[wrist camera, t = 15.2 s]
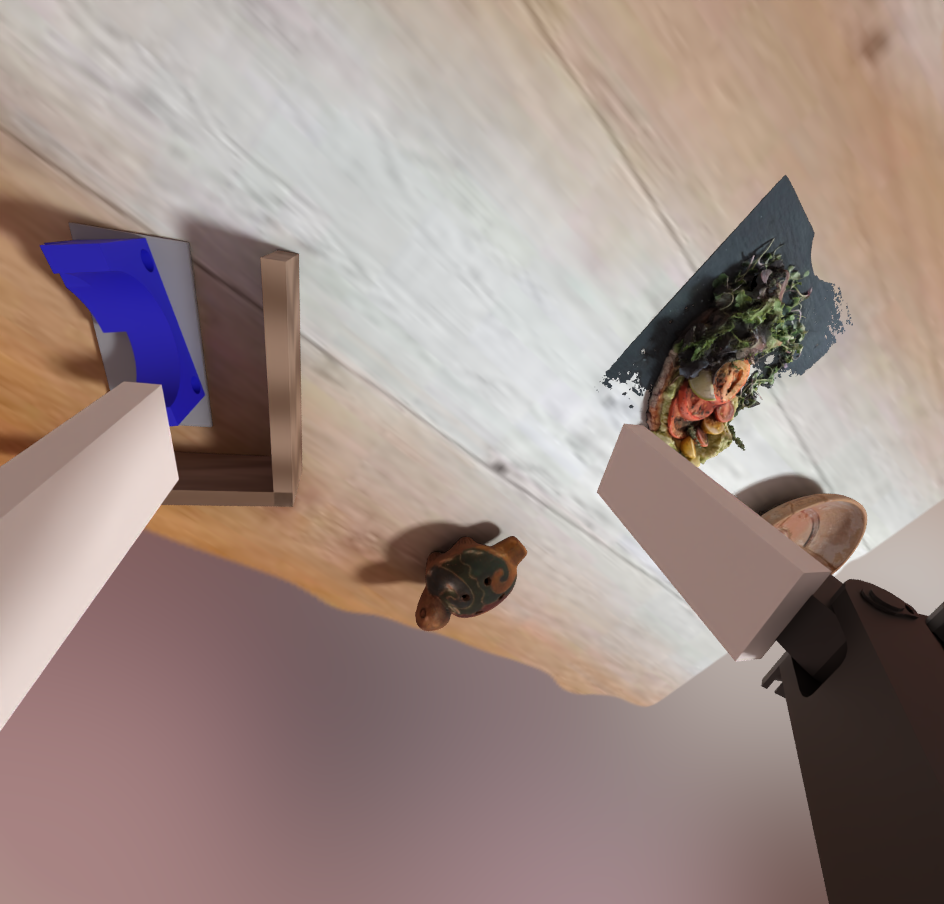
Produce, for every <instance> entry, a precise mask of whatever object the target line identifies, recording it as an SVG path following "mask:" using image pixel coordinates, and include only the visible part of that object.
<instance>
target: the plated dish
mask: <svg viewBox="0 0 944 904" xmlns="http://www.w3.org/2000/svg"><path fill="white" fill-rule="evenodd" d="M813 237H814V230H813V228H812V226H811V224H810V222H809V221H808V218H807V216H806V214H805V212H804V209H803V207H802V205H801V203H800V201H799V199H798V197H797V194H796V193H795V190H794V188H793V186H792V185H791V182H790V181H789V179H788V177H787V176H786V175H785V176H784V177H783V178H782V179H781V180H780V181H779V182H778V183H777V184H776V185H775V186H774V187H773V188H772V190H771V191H770V192H769V193H768V194H767V195H766V196H765V197H764V198H763V199H762V200H761V201H760V203H759V204H758V205H757V206H756V207H755V208H754V209H753V210H752V211H751V212H750V214H749V215H748V216H747V217H746V218H745V219H744V220H743V221H742V222H741V223H740V224H739V226H738V227H737V228H736V229H735V230H734V231H733V232H732V233H731V234H730V235H729V237H728V238H727V239H726V240H725V241H724V242H723V243H722V244H721V245H720V247H719V248H718V249H717V250H716V251H715V252H714V253H713V254H712V255H711V256H710V258H709V259H708V260H707V261H706V262H705V263H704V264H703V265H702V266H701V267H700V268H699V269H698V271H696V273H695V274H694V275H693V276H692V277H691V278H690V279H689V280H688V282H687V283H686V284H685V285H684V286H683V287H682V288H681V289H680V290H679V291H678V292H677V293H676V295H675V296H674V297H673V298H672V299H671V300H670V301H669V302H668V303H667V305H666V306H665V307H664V308H663V309H662V310H661V311H660V312H659V314H658V315H657V316H656V317H655V318H654V319H653V320H652V321H651V322H650V323H649V325H648V326H647V327H646V328H645V329H644V330H643V331H642V333H641V334H640V335H639V336H638V337H637V338H636V339H635V340H634V341H633V342H632V343H631V344H630V346H629V347H628V348H627V349H626V350H625V351H624V353H623V354H622V355H621V356H620V358H618V359H617V361H616V362H614V364H613V365H612V367H611V368H610V370H608V371H606V376H607V378H609V379H607V378H606V379H605V378H604V379H605V382H602V384H604V385H607V387H608V388H611V387H612V385H611V384H610V383H609V382H608V381H609V380H612V378H614V380H616V379H617V377H618V378H619V380H620V383H626V380H630V379H631V377H632V376H633V375H634V373H636V374H638V373H637V372H639V374H638V376H637V375H636V376H637V377H636V378H637V379H638V378H639V379H640V380H639V382H637V379H635V380H634V381H632V382H634V383H636V384H638V383H640V384H639V385H638V386H639V388H638V389H639V390H640V393H639V394H638V391H637V390H636V389H634V388H636V387H634V388H633V387H632V391H633V392H635V393H636V394H637V395H639V396H641V393H642V390H641V389H640V386H641V387H642V388H643V387H645V388H644V389H646V390H649V389H650V390H649V392H651V393H650V397H649V400H648V402H649V406H648V407H649V408H648V410H647V412H646V416H647V422H646V423H648V425H649V429H650V431H651V432H652V433H654V434H655V435H656V436H657V437H659V438H660V439H661V440H663V441H664V442H665V443H666V444H668V445H669V446H670V447H672V448H673V449H674V450H675V451H677V452H678V453H679V454H681V455H682V456H683V457H685V458H686V459H687V460H688V461H690V462H691V463H692V464H694V465H695V466H696V467H699V466H700V463H702V464H704V463H705V461H706V460H707V459H709V458H712V457H715V456H717V455H718V453H720V452H722V451H723V450H724V449H726V448H727V447H729V446H730V444H731V443H732V440H733V441H734V440H735V443H736V444H737V445H738V447H740V448H742V449H743V450H744V451H745V449H744V448H745V447H744V444H743V443H742V441H741V440H740V438H738V437H737V438H736V437H735V432H734V430H733V429H734V428H733V426H731V425H729V422H731V421H732V420H733V417H736V416H737V415H738V412H739V411H740V410H741V409H743V408H744V407H748V408H751V407H754V406H756V405H759V404H760V403H759V402H757V401H756V399H755V398H757V397H756V396H755V394H754V393H756V394H757V395H759V393H758V392H757V387H756V386H757V385H758V387H759V386H760V385H761V386H765V387H767V388H771V387H772V386H773V383H774V379H773V378H774V373H777V371H778V373H780V372H786V370H789V369H791V371H792V374H794V373H795V374H796V373H797V375H798V374H800V375H802V374H803V373H805V370H807V369H808V368H811V367H812V366H813V363H814V364H815V363H816V362H817V361H818V360H819V359H820V358H821V357H822V356H824V354H825V353H827V351H828V350H829V347H831V344H832V345H833V343H834V342H835V343H836V339H835V336H834V334H833V335H832V334H831V331H829V327H827V326H828V325H831V328H832V329H833V327H835V328H836V330H838V328H839V329H840V327H839V326H843V324H842V322H841V321H839V318H840V311H839V310H838V311H839V313H838V314H836V313H837V311H836V310H837V309H838V308H839V307H838V305H837V304H836V305H837V306H836V308H835V301H834V300H833V299H834V295H835V297H836V296H837V295H839V294H840V295H841V293H840V292H841V291H839V293H838V294H837V293H836V294H835V293H834V291H833V290H834V288H833V286H831V285H832V283H831V284H830V283H827V282H824V281H823V280H819V278H818V277H817V275H816V276H815V275H814V272H813V268H812V263H811V248H812V243H813V242H812V241H813ZM756 275H758V276H757V278H756V282H757V284H758V285H757V287H755V288H754V290H753V291H752V292H750V291H751V290H752V289H750V286H751V283H752V280H753V276H756ZM833 285H835V284H833ZM838 289H840V288H838ZM831 290H832V291H831ZM825 297H826V299H825ZM841 298H842V297H840V299H841ZM840 299H839V297H837V299H836V301H837V302H839V303H840V302H841V300H840ZM839 300H840V301H839ZM693 304H694V306H692V305H693ZM686 307H687V309H685V308H686ZM846 307H847V306H846ZM847 308H848V307H847ZM831 311H832V312H831ZM841 311H842V310H841ZM848 312H849V310H848ZM831 315H833V319H832V316H831ZM848 317H849V315H848ZM837 319H838V320H837ZM849 319H851V317H850V318H849ZM670 320H672V322H671V323H669V321H670ZM828 321H829V322H828ZM846 321H847V322H848V321H849V324H850V323H851V322H850V320H846ZM851 321H852V320H851ZM832 322H833V323H832ZM847 322H846V324H847ZM816 323H817V324H816ZM836 323H837V324H836ZM835 324H836V325H835ZM851 325H852V326H853V323H852V324H851ZM834 330H835V329H833V331H834ZM836 330H835V331H836ZM843 330H844V327H842V328H841V330H840V332H842V334H843ZM833 331H832V332H833ZM844 331H845V330H844ZM838 333H839V330H838V332H837V334H838ZM825 335H826V336H827V339H826V338H825ZM832 337H833V338H832ZM832 341H833V343H832ZM828 343H829V344H828ZM827 345H828V346H827ZM642 349H644V350H645V353H646V354H644V352H642V353H643V354H641V350H642ZM768 355H769V356H770V355H774V356H775V357H774V360H773V362H772V363H770V364H768V365H766V364H765V363H764V362H766V358H767V356H768ZM809 356H810V357H809ZM758 363H759V366H758ZM633 364H634V366H633ZM751 364H752V365H753V368H755V367H757V368H758V369H759V368H760V370H761V374H759V376H758V377H757V375H758V372H759V371H758V370H756V371H754V373H752V374H751V376H750V377H749V379H748V380H749V382H746V380H747V378H748V376H749V371H750V365H751ZM779 369H780V370H779ZM781 370H783V371H781ZM784 370H785V371H784ZM628 371H630V372H631V373H630V372H629V375H628V374H627V372H628ZM762 371H763V373H762ZM794 371H796V372H794ZM619 372H620V373H621V374H620V373H619ZM790 373H791V372H790ZM619 374H620V375H619ZM792 374H790V375H789V377H791V375H792ZM780 375H781V374H778V377H779V378H781V376H780ZM604 376H605V375H604ZM602 378H603V377H602ZM604 379H603V380H604ZM775 379H776V377H775ZM617 381H618V380H617ZM635 381H636V382H635ZM765 381H766V382H768V384H764V383H765ZM600 382H601V381H600ZM626 384H627V383H626ZM650 384H652V385H653V386H651V385H650ZM743 385H745V386H744V387H743V389H742V386H743ZM651 387H652V389H651ZM611 389H612V388H611ZM611 389H610V390H611ZM629 390H630V389H629ZM597 391H598V390H597ZM643 391H644V390H643ZM753 392H754V393H753ZM745 394H747V395H745ZM622 395H626V392H625V393H623V394H622ZM646 395H647V394H646ZM642 396H643V394H642ZM759 396H760V395H759ZM745 398H746V399H747V400H744V399H745ZM760 398H761V396H760ZM629 399H630V398H629ZM761 399H762V398H761ZM762 400H763V399H762ZM629 407H630V408H633V407H634V406H632V405H630V406H629Z"/></svg>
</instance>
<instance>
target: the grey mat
mask: <svg viewBox="0 0 944 904" xmlns="http://www.w3.org/2000/svg"><path fill="white" fill-rule="evenodd" d="M69 227H70V231H71V235H72V239H73V240H96V239H129V238H146V240H147V243H148V245H149V248H150V251H151V253H152V256H153V259H154V261H155V264H156V266H157V269H158V272H159V274H160V277H161V280H162V282H163V285H164V287H165V290H166V293H167V295H168V298H169V301H170V303H171V306H172V308H173V311H174V314H175V316H176V319H177V322H178V324H179V327H180V329H181V332H182V335H183V337H184V340H185V343H186V345H187V348H188V350H189V353H190V356H191V358H192V361H193V364H194V366H195V369H196V371H197V374H198V377H199V379H200V382H201V385H202V387H203V390H204V392H205V396H204V397H203V398H202V399H201V401H200V402H199V403H198V404H197V405H196V406H195V407H194V408H193V410H192V411H191V412H190V413H189V414H188V415H187V416H186V417H185V419H184V420H183V421H182V422H181V423H180V424H179V425H184V426H200V427H212V426H213V424H212V416H211V408H210V400H209V393H208V385H207V377H206V369H205V362H204V354H203V346H202V338H201V331H200V323H199V315H198V307H197V300H196V292H195V284H194V276H193V269H192V261H191V253H190V245H189V242H184V241H178V240H173V239H167V238H161V237H155V236H149V235H143V234H137V233H131V232H125V231H119V230H113V229H107V228H101V227H96V226H90V225H84V224H78V223H69ZM91 316H92V320H93V324H94V328H95V332H96V336H97V340H98V344H99V348H100V352H101V356H102V360H103V364H104V368H105V372H106V376H107V380H108V384H109V388H110V391H111V390H112V389H114V388H115V387H117V386H118V385H119V384H121V383H122V382H136V376H137V374H136V363H135V357H134V353H133V349H132V346H131V343H130V340H129V337H128V335H127V332H111V333H103V332H102V330H101V328H100V326H99V324H98V322H97V321H96V319H95V318H94V316H93V315H92V313H91Z"/></svg>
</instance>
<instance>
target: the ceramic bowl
mask: <svg viewBox="0 0 944 904" xmlns="http://www.w3.org/2000/svg"><path fill="white" fill-rule="evenodd" d="M761 517H762V518H763V519H764V520H766V521H767V522H768V523H770V524H771V525H772V526H774V527H775V528H776V529H777V530H779V531H780V532H781V533H783V534H784V535H785V536H786V537H788V538H789V539H790V540H792V541H793V542H794V543H795V544H797V545H798V546H799V547H801V548H802V549H803V550H804V551H806V552H807V553H808V554H810V555H811V556H812V557H814V558H815V559H816V560H817V561H819V562H820V563H821V564H823V565H824V566H825V567H826V568H828V569H829V570H830V571H832V572H831V573H830V574H831V575H832V574H834V573H835V572H836V571H837V570H838V569H840V568H841V566H842V565H843V564H844V563H845V562H846V561H847V560H848V559H849V557H850V556H851V555H852V554H853V552H854V551H855V549H856V548H857V546H858V545H859V543H860V541H861V539H862V537H863V535H864V533H865V529H866V525H867V513H866V510H865V509H864V507H863V506H862V505H861V504H860V503H859V502H857V501H855V500H853V499H851V498H849V497H846V496H843V495H838V494H814V495H808V496H804V497H800V498H797V499H794V500H791V501H788V502H786V503H783V504H781V505H779V506H777V507H775V508H773V509H771V510H769V511H768V512H766V513H764V514H763V515H762V516H761Z"/></svg>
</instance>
